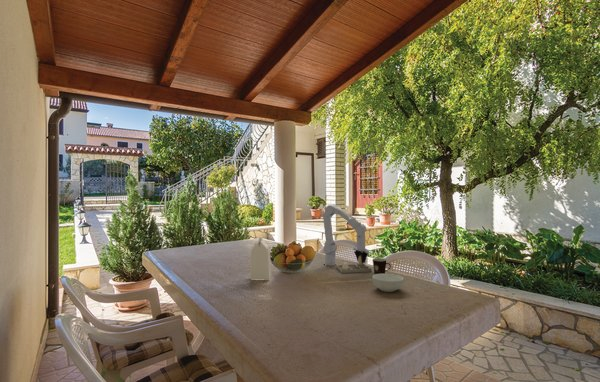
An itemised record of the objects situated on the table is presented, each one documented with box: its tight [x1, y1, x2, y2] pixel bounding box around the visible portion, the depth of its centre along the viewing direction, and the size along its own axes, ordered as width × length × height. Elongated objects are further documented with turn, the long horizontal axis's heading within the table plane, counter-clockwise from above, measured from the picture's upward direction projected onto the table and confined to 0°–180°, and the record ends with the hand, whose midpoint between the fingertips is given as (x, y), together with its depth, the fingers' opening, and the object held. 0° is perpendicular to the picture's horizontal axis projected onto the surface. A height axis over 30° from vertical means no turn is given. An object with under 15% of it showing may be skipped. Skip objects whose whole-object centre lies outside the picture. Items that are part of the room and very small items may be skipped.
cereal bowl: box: [371, 273, 405, 293], centre depth 181 cm, size 17×17×7 cm
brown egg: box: [357, 256, 364, 265], centre depth 227 cm, size 4×4×6 cm
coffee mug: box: [372, 257, 392, 275], centre depth 210 cm, size 12×9×10 cm
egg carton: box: [335, 263, 372, 274], centre depth 223 cm, size 14×20×3 cm
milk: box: [250, 235, 272, 281], centre depth 209 cm, size 12×12×26 cm
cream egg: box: [342, 261, 349, 270], centre depth 218 cm, size 4×4×6 cm
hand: (361, 262), depth 227 cm, fingers closed on brown egg, 4 cm apart
